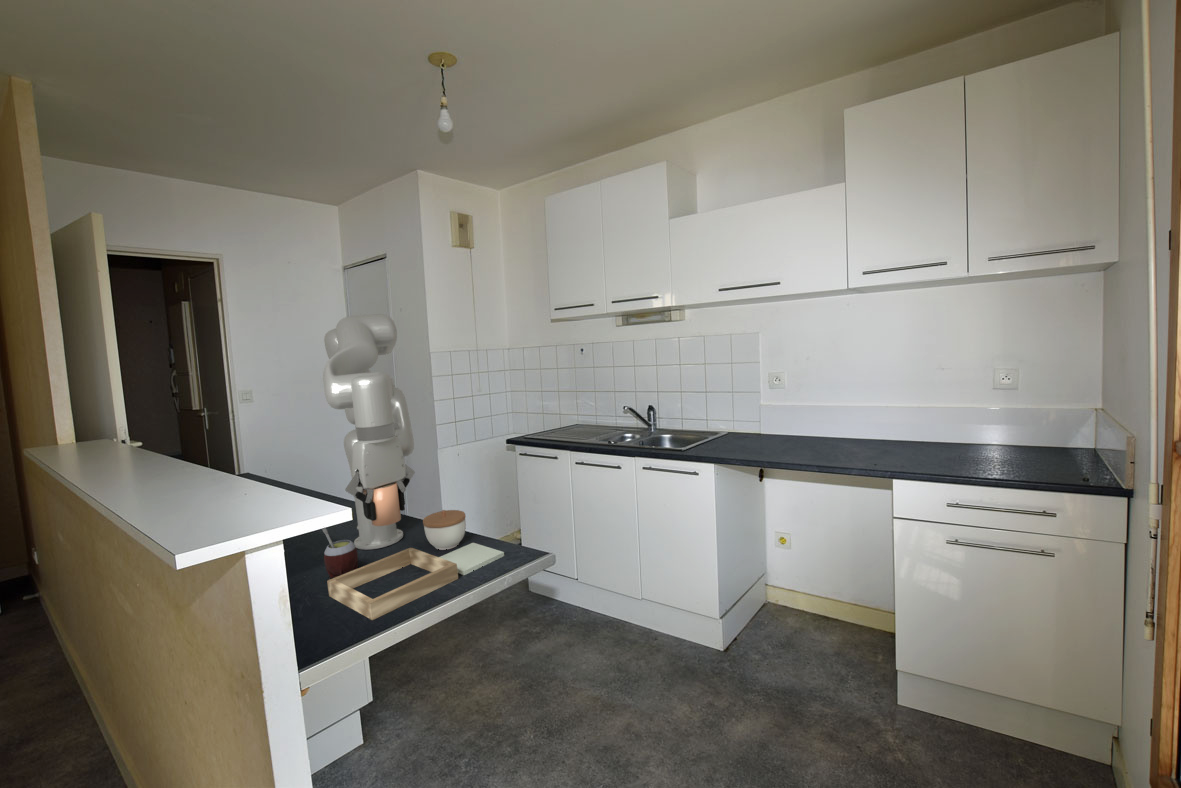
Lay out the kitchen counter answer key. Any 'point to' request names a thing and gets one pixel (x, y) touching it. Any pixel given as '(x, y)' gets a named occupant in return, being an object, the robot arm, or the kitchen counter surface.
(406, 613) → the kitchen counter surface
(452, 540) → the lidded jar
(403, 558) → the frame
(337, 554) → the mate gourd
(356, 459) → the robot arm
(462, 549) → the sage tile
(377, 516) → the terracotta pot
